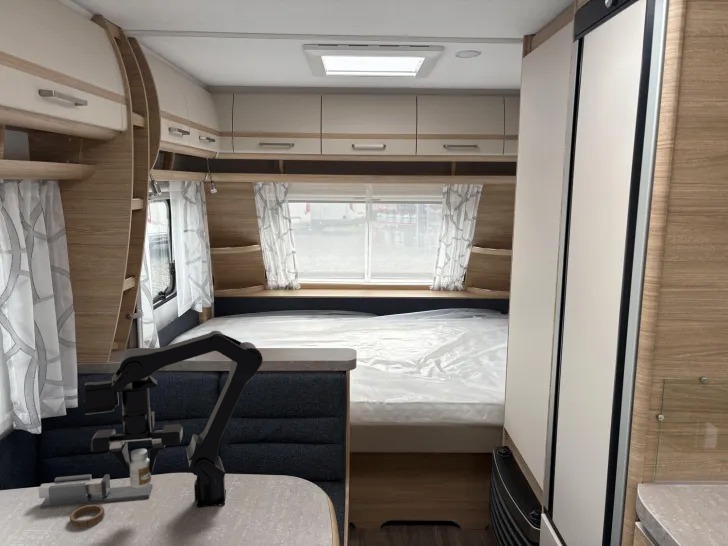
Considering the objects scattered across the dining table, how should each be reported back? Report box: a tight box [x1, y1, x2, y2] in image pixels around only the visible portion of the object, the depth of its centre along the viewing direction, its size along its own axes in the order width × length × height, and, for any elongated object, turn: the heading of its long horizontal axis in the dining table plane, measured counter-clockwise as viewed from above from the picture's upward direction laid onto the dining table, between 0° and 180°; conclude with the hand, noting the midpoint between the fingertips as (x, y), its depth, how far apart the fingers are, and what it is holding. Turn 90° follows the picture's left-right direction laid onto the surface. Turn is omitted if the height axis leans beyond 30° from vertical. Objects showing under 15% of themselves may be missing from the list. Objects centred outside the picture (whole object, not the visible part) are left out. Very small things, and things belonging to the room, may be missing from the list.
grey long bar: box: [38, 473, 111, 499], centre depth 138 cm, size 15×4×4 cm, turn 101°
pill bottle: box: [129, 448, 152, 488], centre depth 130 cm, size 4×4×8 cm
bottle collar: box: [69, 504, 106, 529], centre depth 130 cm, size 7×7×2 cm
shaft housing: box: [40, 473, 154, 509], centre depth 139 cm, size 24×5×5 cm, turn 101°
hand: (140, 473), depth 131 cm, fingers closed on pill bottle, 4 cm apart
